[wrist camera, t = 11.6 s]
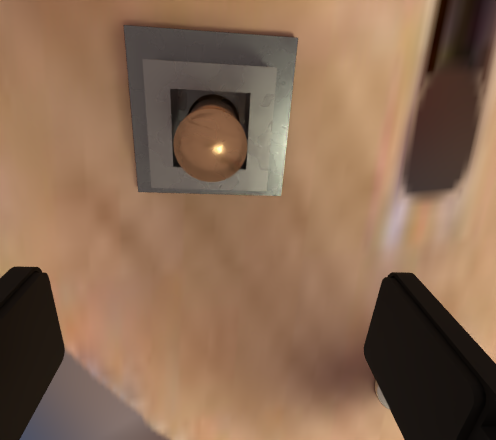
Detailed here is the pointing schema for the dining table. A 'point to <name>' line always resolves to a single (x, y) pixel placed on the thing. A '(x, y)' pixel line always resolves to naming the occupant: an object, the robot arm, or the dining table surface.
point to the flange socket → (203, 83)
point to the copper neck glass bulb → (211, 140)
